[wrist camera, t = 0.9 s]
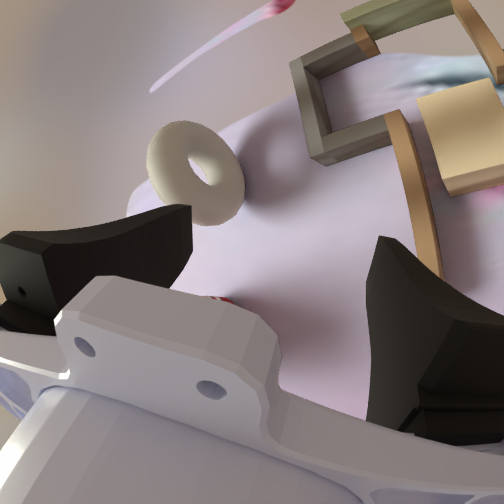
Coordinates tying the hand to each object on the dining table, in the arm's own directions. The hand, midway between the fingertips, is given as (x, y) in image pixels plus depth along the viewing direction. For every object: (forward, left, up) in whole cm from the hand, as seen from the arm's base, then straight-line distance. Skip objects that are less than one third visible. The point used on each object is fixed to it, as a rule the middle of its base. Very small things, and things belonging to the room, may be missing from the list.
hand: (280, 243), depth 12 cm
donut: (+15, -3, -12) cm, 20 cm away
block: (-5, -8, -12) cm, 16 cm away
